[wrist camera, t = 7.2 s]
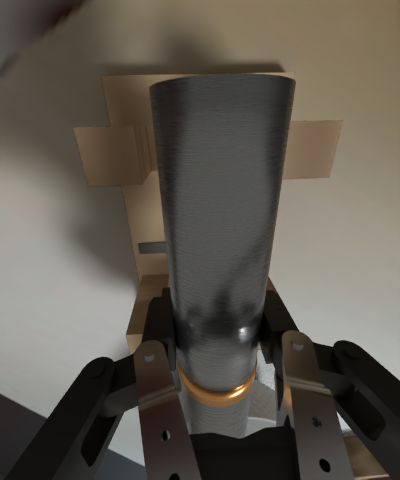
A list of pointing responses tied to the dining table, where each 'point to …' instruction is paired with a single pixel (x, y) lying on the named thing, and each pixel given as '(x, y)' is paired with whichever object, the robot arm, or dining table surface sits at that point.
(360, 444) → the planter box
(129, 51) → the dining table surface
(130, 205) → the cradle board
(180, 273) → the tube
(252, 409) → the cereal bowl
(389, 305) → the dining table surface
